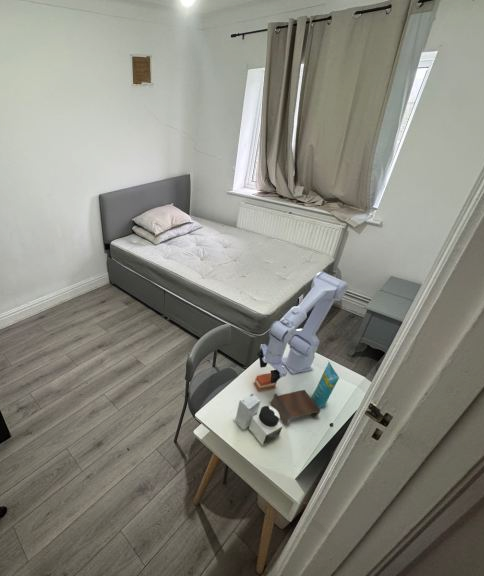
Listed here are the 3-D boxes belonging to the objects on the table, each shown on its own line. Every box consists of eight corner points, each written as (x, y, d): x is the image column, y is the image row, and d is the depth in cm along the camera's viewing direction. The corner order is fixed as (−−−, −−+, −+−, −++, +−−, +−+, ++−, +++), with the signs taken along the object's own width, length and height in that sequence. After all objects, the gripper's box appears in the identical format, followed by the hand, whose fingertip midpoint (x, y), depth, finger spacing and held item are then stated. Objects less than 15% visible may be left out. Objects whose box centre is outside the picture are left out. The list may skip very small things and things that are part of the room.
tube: (306, 394, 117) (321, 360, 106) (319, 393, 117) (335, 360, 106) (316, 411, 111) (333, 377, 100) (329, 410, 111) (347, 377, 100)
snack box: (270, 380, 123) (272, 372, 120) (275, 387, 120) (277, 379, 117) (254, 383, 122) (256, 375, 119) (258, 391, 119) (261, 383, 116)
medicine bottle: (262, 446, 101) (270, 426, 94) (248, 428, 107) (254, 408, 100) (278, 437, 104) (287, 417, 97) (263, 420, 109) (270, 400, 102)
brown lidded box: (301, 396, 116) (305, 387, 113) (317, 417, 109) (322, 407, 106) (270, 403, 114) (274, 393, 111) (284, 425, 107) (288, 415, 104)
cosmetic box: (243, 430, 106) (249, 410, 99) (234, 420, 109) (238, 400, 102) (255, 421, 109) (261, 401, 102) (245, 412, 112) (251, 391, 105)
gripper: (255, 337, 115) (249, 362, 122) (277, 366, 103) (268, 391, 111) (272, 334, 116) (265, 359, 124) (295, 363, 104) (286, 387, 112)
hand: (268, 374), depth 117 cm, fingers open, 7 cm apart
